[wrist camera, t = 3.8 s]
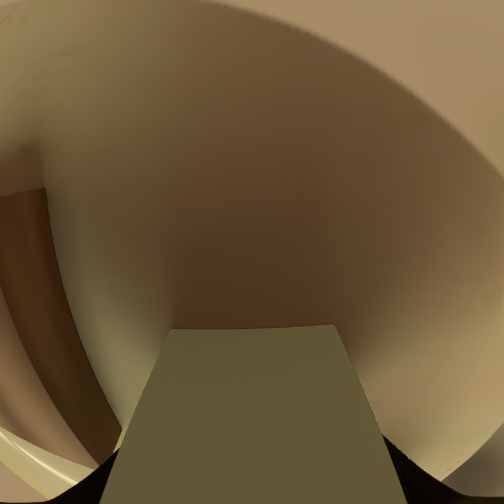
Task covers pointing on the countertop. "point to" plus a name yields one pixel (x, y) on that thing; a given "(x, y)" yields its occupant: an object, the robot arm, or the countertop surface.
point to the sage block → (253, 424)
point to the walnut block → (45, 345)
